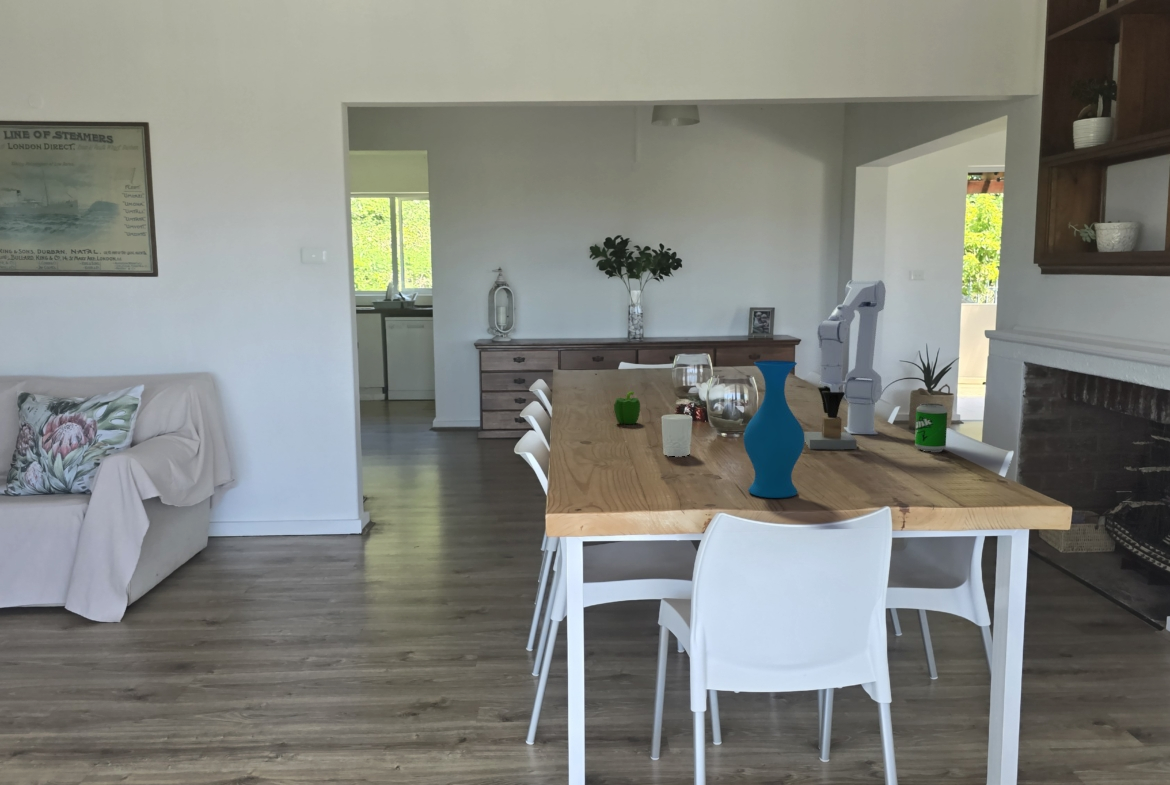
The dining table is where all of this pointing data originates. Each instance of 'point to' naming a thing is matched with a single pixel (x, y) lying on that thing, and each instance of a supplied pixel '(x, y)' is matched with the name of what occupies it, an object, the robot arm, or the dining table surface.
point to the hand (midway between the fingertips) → (830, 415)
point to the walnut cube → (831, 427)
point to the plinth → (829, 441)
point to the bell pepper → (627, 409)
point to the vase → (774, 436)
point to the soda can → (931, 427)
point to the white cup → (676, 434)
